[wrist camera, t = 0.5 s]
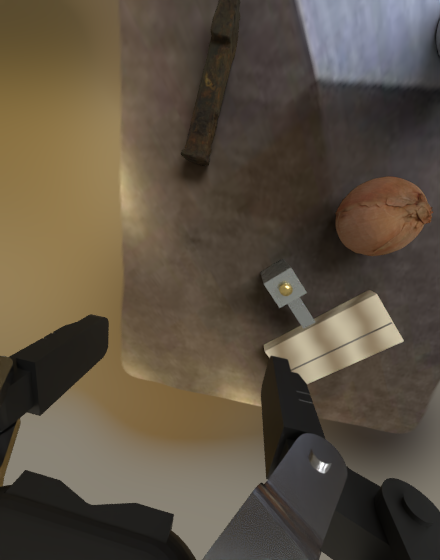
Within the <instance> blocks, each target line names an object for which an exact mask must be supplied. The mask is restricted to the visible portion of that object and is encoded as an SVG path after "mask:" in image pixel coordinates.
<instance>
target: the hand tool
mask: <svg viewBox="0 0 440 560" xmlns="http://www.w3.org/2000/svg"><path fill="white" fill-rule="evenodd" d="M239 6H240V0H219V2H218V6H217V9H216V11H215V14H214V17H213V21H212V26H211V35H212V37H211V41H210V44H209V49H208V54H207V59H206V64H205V67H204V71H203V75H202V79H201V83H200V87H199V91H198V95H197V99H196V103H195V108H194V112H193V117H192V120H191V125H190V130H189V134H188V139H187V143H186V146H185V149H184V150H183V151H182V152H181V155H182V156H183V157H184V158H185V159H187V160H189V161H191V162H194V163H197V164H200V165H209V155H210V153H211V144H212V141H213V137H214V135H215V130H216V127H217V119H218V117H219V113H220V109H221V104H222V100H223V96H224V92H225V88H226V84H227V80H228V76H229V72H230V68H231V64H232V60H233V59H234V56H235V51H236V46H237V40H238V32H239V31H238V29H239V20H240V12H239Z"/></svg>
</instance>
